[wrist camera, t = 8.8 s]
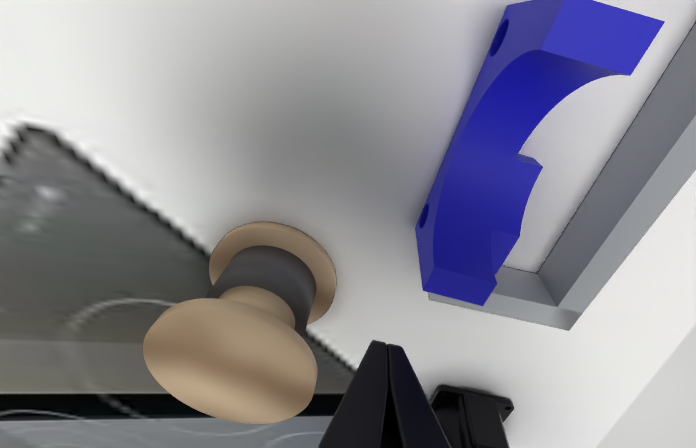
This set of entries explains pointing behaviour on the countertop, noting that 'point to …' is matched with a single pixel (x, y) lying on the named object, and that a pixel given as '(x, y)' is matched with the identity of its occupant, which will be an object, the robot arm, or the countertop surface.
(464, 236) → the cable clip
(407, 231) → the countertop surface
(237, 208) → the countertop surface
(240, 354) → the bobbin
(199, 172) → the countertop surface
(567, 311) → the gray u-shaped bracket
